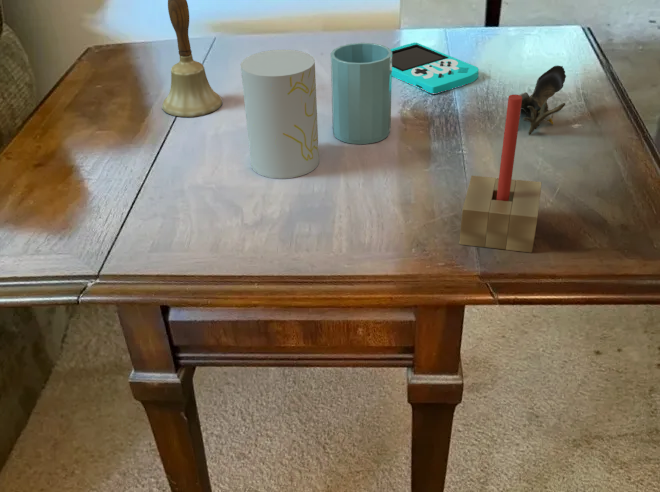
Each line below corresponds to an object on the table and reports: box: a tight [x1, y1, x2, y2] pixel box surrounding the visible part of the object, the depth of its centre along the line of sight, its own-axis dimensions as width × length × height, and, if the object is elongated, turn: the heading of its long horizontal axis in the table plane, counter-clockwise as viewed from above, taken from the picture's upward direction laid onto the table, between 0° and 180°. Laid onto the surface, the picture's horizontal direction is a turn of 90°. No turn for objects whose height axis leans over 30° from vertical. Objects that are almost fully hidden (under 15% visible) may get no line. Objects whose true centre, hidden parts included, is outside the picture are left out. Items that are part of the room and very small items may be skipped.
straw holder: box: [458, 175, 543, 254], centre depth 76 cm, size 7×7×4 cm
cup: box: [240, 49, 320, 180], centre depth 87 cm, size 8×8×12 cm
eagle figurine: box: [519, 65, 567, 136], centre depth 95 cm, size 8×7×9 cm
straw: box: [496, 94, 522, 201], centre depth 73 cm, size 1×1×14 cm
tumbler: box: [330, 42, 393, 145], centre depth 94 cm, size 7×7×10 cm
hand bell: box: [161, 0, 223, 118], centre depth 101 cm, size 8×8×16 cm
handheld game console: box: [389, 41, 480, 93], centre depth 112 cm, size 10×16×1 cm, turn 33°
